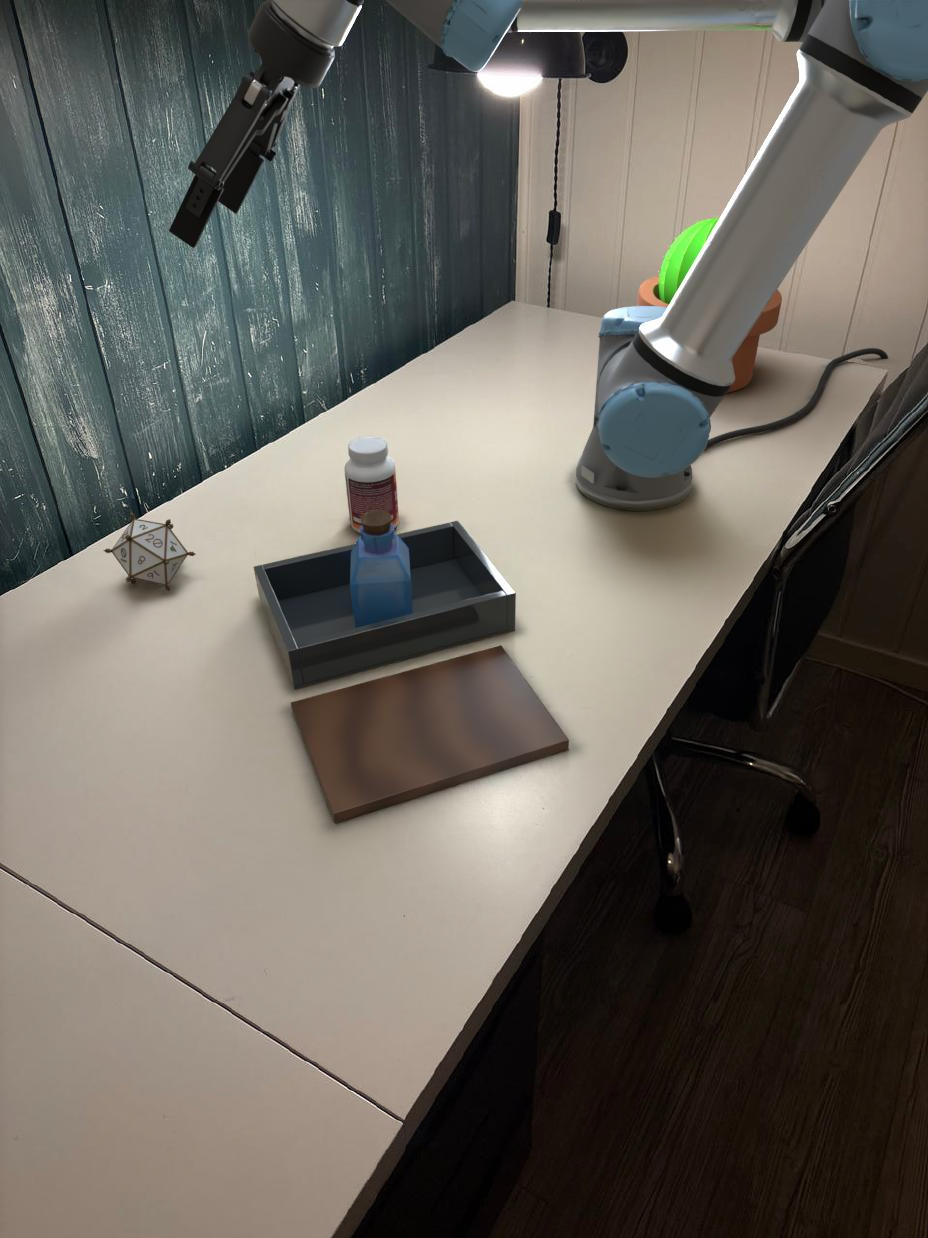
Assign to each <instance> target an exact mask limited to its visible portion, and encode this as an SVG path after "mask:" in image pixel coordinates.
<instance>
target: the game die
mask: <svg viewBox="0 0 928 1238" xmlns="http://www.w3.org/2000/svg"><path fill="white" fill-rule="evenodd" d="M129 517H130V519H132V520H131V522H130V523H129V524H128V526H127V527H126V528H125V530H124V531H123V533H122V534H121V536H120V537H119V539H118V540H117V541H116V543H115V545H114V546H113V547H112V549H110V548H106V549H103V550H102V551H103V552H105V553H106V554H111V553H112V555H113V556H114V558H115V559H116V560H117V562H118V563H119V565H120V566H121V567H122V569H123V570H124V571H125V573H126V574H127V576H126V578H125V583H130V585H135V584H136V581H140V582H145V583H149V584H154V585H160V586H164V587H165V591H166V592H168V593H171V587H170V586H171V585H169V584H170V583H171V580H172V579H173V577H174V576H175V575H176V573H177V572H178V570H179V569H180V567H181V566H182V564H183V563H184V562H185V560H186V559H187V557H188V556H190V557H193V556H195V555H197V553H195V552H194V551H188V550H187V549H186V548H185V546H184V545H183V543H182V542H181V540H180V539H179V538H178V537H177V535H176V534H175V533H174V531H173V529H174V523H172V521H171V518H170V519H165V520H166V521H165V522H164V523H162V522H156V521H151V520H145V519H139V518H136V515H135V513H133V512H131V511H130V512H129Z"/></svg>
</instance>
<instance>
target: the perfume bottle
mask: <svg viewBox="0 0 928 1238" xmlns="http://www.w3.org/2000/svg"><path fill="white" fill-rule="evenodd" d="M360 519H361V523H362V526H361V528H360V533H359V534H360V535H359V536H358V539H357V540H356V542H355V543H354V544H355V545H354V547H353V549H352V551H351V570H350V588H351V597H352V606H353V615H354V624H355V628H357V627H361V626H365V625H369V624H373V623H377V622H381V621H385V620H389V619H393V618H397V617H401V616H405V615H409V614H413V607H412V591H411V576H410V561H409V548H408V547H407V546H406V544H405V543H404V542H403V541H402V540H401V538H400V537H399V536H398V535H396V534H395V528H394V526H393V524H392V523H391V519H392V516H391V514H390V513H388V512H386V511H382V510H373V511H369V512H366V513H364V514H363V515H362V516H361V518H360Z"/></svg>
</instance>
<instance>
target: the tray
mask: <svg viewBox="0 0 928 1238" xmlns="http://www.w3.org/2000/svg"><path fill="white" fill-rule="evenodd" d="M395 535H398V536H399V537H400V538H401V540H402V541H403V542H404V543H405V544H406V546H407V547H408V548H409V561H410V576H411V591H412V607H413V614H409V615H405V616H401V617H397V618H393V619H389V620H385V621H381V622H377V623H373V624H369V625H365V626H361V627H357V628H355V624H354V615H353V606H352V597H351V588H350V570H351V551H352V549H353V547H354V545H355V544H356V543H352V544H347V545H343V546H339V547H334V548H330V549H325V550H321V551H317V552H312V553H307V554H302V555H299V556H293V557H291V558H290V557H289V558H286V559H285V558H284V559H281V560H276V561H272V562H267V563H263V564H259V565H258V564H257V565H254V566H253V574H254V578H255V583H256V588H257V589H256V590H257V594H258V599H259V604H260V607H261V609H262V611H263V614H264V616H265V618H266V621H267V624H268V626H269V629H270V632H271V634H272V637H273V639H274V642H275V644H276V646H277V649H278V652H279V654H280V656H281V659H282V661H283V664H284V667H285V669H286V672H287V675H288V677H289V679H290V682H291V684H292V687H293V690H299V689H302V688H306V687H309V686H314V685H317V684H321V683H325V682H328V681H332V680H335V679H339V678H343V677H347V676H351V675H354V674H358V673H361V672H366V671H369V670H373V669H377V668H380V667H384V666H388V665H392V664H396V663H399V662H402V661H406V660H410V659H413V658H418V657H421V656H426V655H429V654H433V653H436V652H440V651H444V650H447V649H451V648H455V647H458V646H462V645H465V644H470V643H474V642H477V641H481V640H485V639H488V638H493V637H496V636H500V635H504V634H507V633H511V632H515V631H516V610H517V609H516V605H517V602H516V601H517V599H516V598H517V593H516V592H515V590H514V589H513V588H512V586H511V585H510V584H509V582H508V581H507V580H506V579H505V578H504V576H503V574H501V573H500V571H499V570H498V568H497V567H496V566H495V565H494V563H492V561H491V560H490V559H489V558H488V556H487V554H485V553H484V551H483V550H482V549H481V547H480V546H479V545H478V544H477V542H476V541H475V540H474V539H473V537H472V536H471V535H470V533H469V532H468V531H467V529H466V528H465V527H464V526H463V525H462V524H461V522H460V521H459V520H453V521H450V522H446V523H441V524H435V525H431V526H427V527H422V528H419V529H413V530H411V531H406V532H401V533H396V534H395Z"/></svg>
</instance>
